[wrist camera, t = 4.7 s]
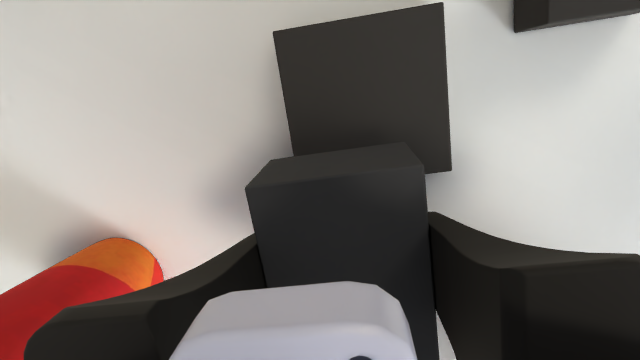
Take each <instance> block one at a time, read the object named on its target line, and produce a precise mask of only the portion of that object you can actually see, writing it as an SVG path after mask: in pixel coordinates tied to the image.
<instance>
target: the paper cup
mask: <svg viewBox="0 0 640 360" xmlns="http://www.w3.org/2000/svg"><path fill="white" fill-rule="evenodd" d="M160 282H163V273H162V270H161V268H160V265H159V263H158V262H157V260H156V259H155V257H154V256H153V255H152V254H151V253H150V252H149V251H148V250H147V249H146V248H144V247H143V246H141V245H140V244H138V243H136V242H133V241H131V240H127V239H123V238H109V239H105V240H102V241H99V242H97V243H95V244H93V245H91V246H89V247H87V248H85V249H83V250H81V251H79V252H77V253H76V254H74V255H72V256H70V257H68V258H66V259H65V260H63V261H61V262H59V263H57V264H55V265H54V266H52V267H50V268H48V269H46V270H44V271H43V272H41V273H39V274H37V275H35V276H34V277H32V278H30V279H28V280H26V281H24V282H23V283H21V284H19V285H17V286H15V287H14V288H12V289H10V290H8V291H6V292H5V293H3V294H1V295H0V360H24V349H25V346H26V344H27V341H28V340H29V338H30V337H31V336H32V335H33V334H34V332H35V331H37V330H38V329H39V328H40V327H41V326H43V325H44V324H45V323H46V322H48V321H49V320H50V319H51V318H53V317H54V316H55V315H56V314H57V313H59V312H60V311H61V310H62V309H64V308H66V307H69V306H75V305H80V304H84V303H89V302H94V301H99V300H103V299H108V298H112V297H116V296H120V295H123V294H127V293H131V292H134V291H137V290H140V289H144V288H147V287H150V286H152V285H155V284H158V283H160Z"/></svg>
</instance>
